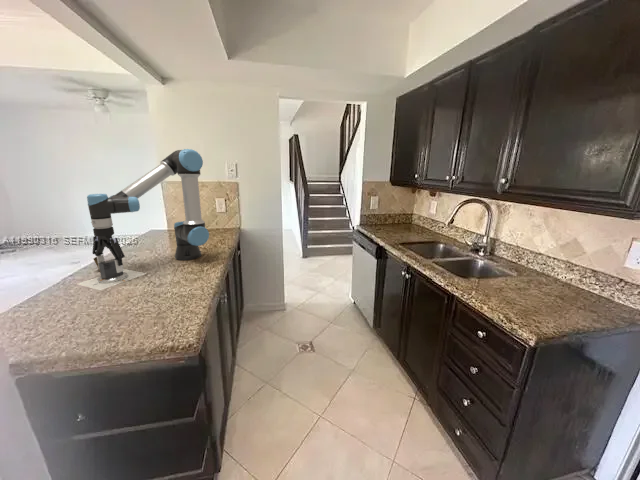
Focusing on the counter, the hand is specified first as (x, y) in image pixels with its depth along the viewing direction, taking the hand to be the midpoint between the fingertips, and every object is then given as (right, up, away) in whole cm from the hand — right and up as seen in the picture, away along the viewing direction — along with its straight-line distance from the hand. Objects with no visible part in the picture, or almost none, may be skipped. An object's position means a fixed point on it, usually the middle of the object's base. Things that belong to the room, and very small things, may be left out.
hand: (111, 269), depth 132 cm
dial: (0, -4, +1) cm, 5 cm away
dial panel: (0, -6, +1) cm, 6 cm away
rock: (-14, -3, +14) cm, 20 cm away
